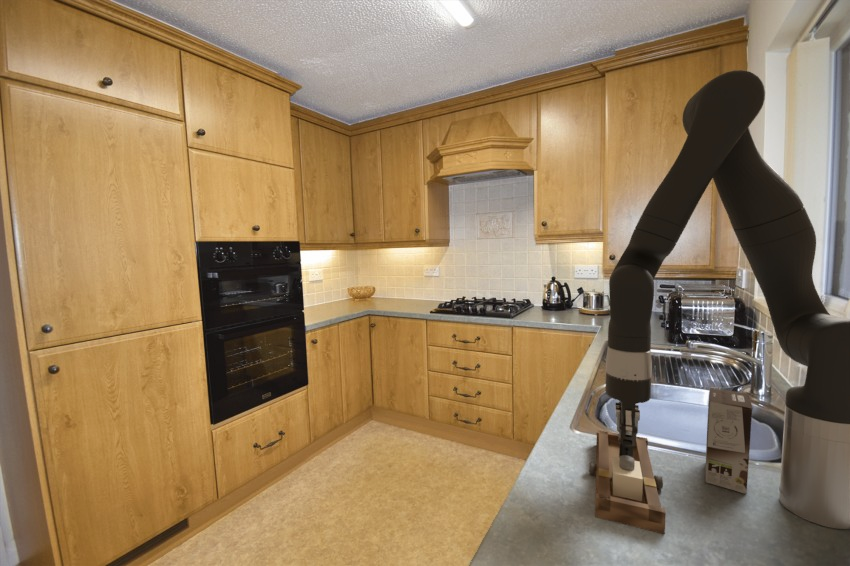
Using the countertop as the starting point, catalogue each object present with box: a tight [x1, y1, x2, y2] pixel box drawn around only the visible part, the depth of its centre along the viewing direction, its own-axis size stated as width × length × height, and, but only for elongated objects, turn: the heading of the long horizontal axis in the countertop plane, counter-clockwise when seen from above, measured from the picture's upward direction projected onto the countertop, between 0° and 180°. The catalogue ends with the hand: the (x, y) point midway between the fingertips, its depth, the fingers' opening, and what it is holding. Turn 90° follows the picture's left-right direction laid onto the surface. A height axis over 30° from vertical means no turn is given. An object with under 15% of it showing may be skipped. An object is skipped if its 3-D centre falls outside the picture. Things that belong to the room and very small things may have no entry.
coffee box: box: [704, 387, 753, 494], centre depth 75 cm, size 9×6×16 cm
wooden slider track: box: [588, 429, 667, 535], centre depth 75 cm, size 12×26×4 cm, turn 156°
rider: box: [612, 455, 643, 501], centre depth 70 cm, size 4×6×6 cm
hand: (625, 460), depth 74 cm, fingers closed
